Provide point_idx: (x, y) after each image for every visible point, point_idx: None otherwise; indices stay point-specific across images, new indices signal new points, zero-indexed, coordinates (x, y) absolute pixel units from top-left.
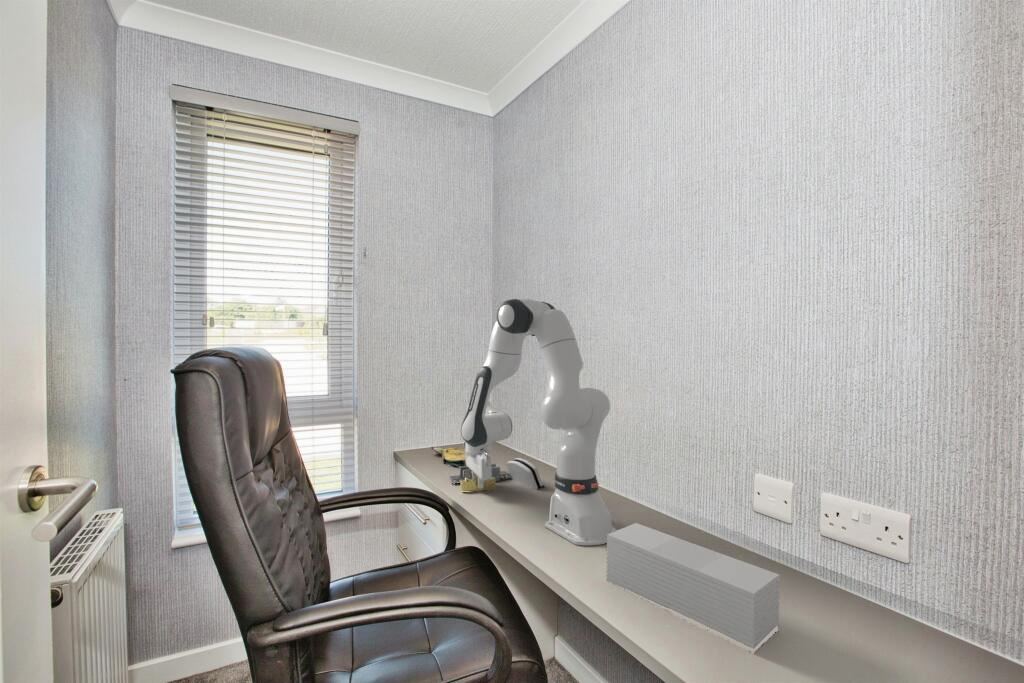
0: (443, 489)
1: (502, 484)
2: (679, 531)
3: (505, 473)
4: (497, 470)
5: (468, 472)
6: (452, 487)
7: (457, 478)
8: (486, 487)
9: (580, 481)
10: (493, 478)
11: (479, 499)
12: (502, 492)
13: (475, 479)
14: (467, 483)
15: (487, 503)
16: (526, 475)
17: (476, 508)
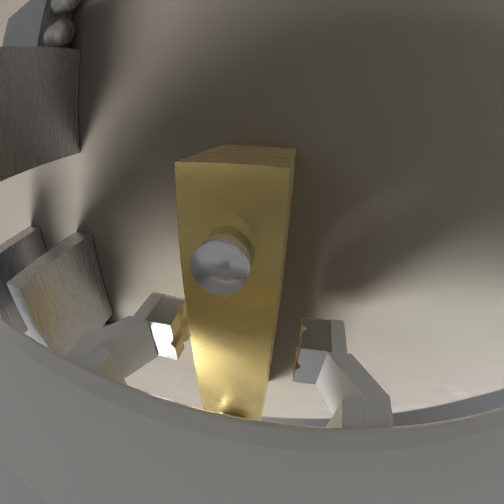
0: (182, 402)
1: (164, 34)
2: None
3: (35, 10)
4: (8, 71)
5: (58, 337)
6: (157, 371)
7: None
8: (285, 252)
9: None
10: (252, 187)
11: (428, 347)
12: (407, 126)
13: (219, 376)
14: (261, 412)
15: (495, 328)
16: None
17: (488, 377)
